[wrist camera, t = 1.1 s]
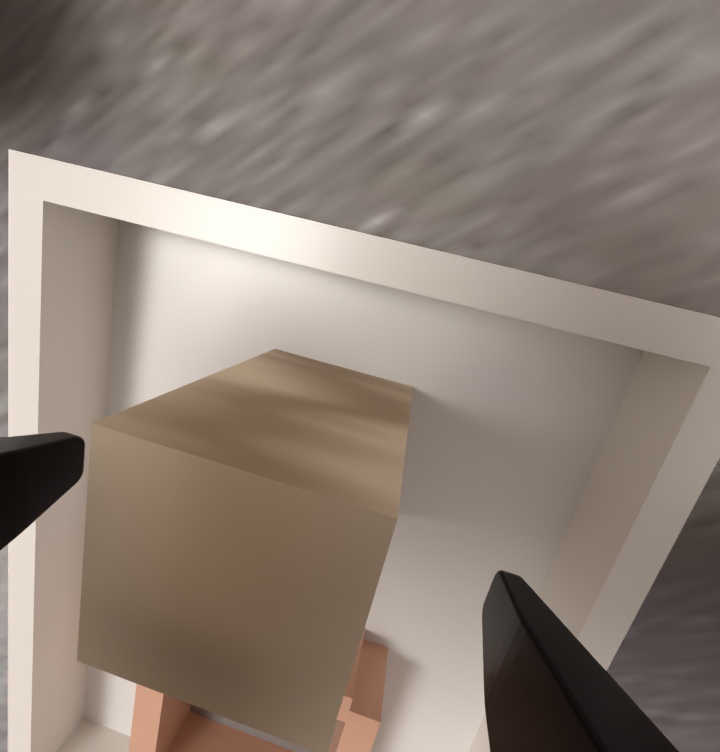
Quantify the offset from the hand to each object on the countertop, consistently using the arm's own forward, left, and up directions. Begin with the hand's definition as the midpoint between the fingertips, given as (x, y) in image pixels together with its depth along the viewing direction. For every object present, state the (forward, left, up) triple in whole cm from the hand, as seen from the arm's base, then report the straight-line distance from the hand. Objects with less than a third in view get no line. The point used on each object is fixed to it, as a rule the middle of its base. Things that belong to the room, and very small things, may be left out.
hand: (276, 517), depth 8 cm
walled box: (0, +6, -5) cm, 8 cm away
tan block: (0, 0, -5) cm, 5 cm away
